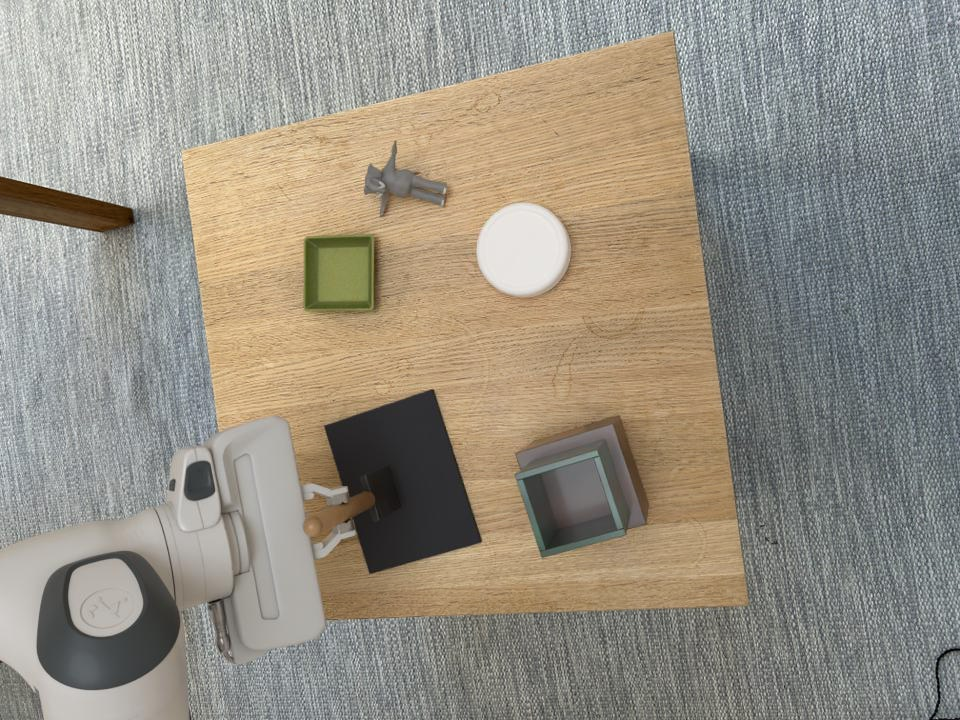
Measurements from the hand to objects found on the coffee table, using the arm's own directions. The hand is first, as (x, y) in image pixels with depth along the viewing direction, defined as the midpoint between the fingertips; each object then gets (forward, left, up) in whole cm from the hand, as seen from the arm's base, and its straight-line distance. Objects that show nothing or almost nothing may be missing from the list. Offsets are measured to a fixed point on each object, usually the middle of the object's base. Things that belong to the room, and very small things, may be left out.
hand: (350, 509), depth 72 cm
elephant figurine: (+32, -11, -17) cm, 38 cm away
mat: (0, +1, -16) cm, 16 cm away
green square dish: (+25, 0, -17) cm, 30 cm away
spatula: (0, +1, -13) cm, 13 cm away
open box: (-5, -20, -16) cm, 27 cm away
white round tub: (+20, -21, -17) cm, 34 cm away
